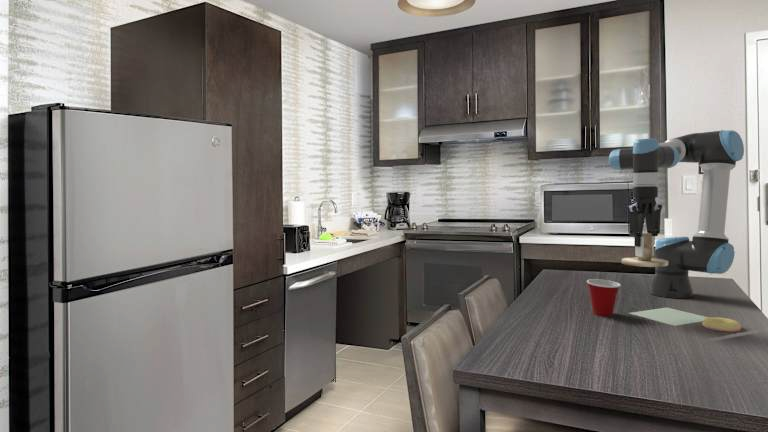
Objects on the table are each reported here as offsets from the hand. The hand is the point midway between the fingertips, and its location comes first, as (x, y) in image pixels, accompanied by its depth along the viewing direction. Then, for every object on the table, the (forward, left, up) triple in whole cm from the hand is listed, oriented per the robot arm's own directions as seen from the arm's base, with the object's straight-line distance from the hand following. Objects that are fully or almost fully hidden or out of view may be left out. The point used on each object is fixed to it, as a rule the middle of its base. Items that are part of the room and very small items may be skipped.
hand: (644, 255), depth 174 cm
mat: (-7, +4, -21) cm, 23 cm away
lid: (0, 0, -3) cm, 3 cm away
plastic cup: (+10, -8, -21) cm, 25 cm away
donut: (-9, +20, -21) cm, 31 cm away
